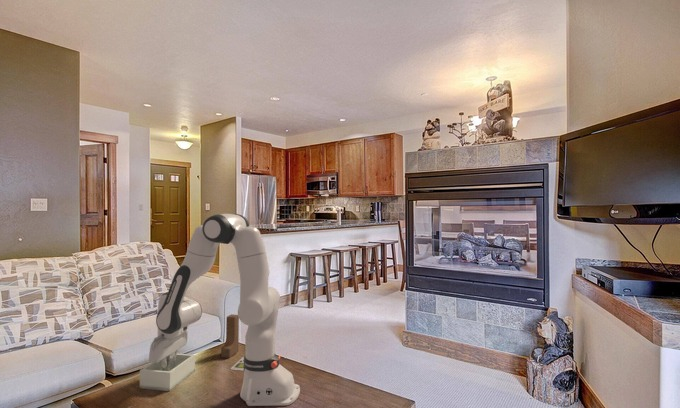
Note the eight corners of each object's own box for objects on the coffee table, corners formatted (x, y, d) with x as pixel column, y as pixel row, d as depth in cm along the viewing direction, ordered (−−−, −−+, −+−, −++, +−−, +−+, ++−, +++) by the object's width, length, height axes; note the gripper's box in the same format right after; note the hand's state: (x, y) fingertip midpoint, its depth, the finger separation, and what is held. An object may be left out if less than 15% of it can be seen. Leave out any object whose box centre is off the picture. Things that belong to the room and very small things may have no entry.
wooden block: (229, 358, 165) (229, 320, 165) (220, 357, 166) (221, 319, 166) (238, 351, 173) (239, 314, 174) (230, 350, 174) (230, 314, 175)
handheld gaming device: (261, 356, 167) (248, 370, 152) (261, 357, 167) (248, 372, 152) (244, 355, 168) (229, 368, 153) (244, 356, 168) (229, 370, 153)
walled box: (194, 371, 151) (195, 354, 151) (169, 391, 135) (170, 372, 135) (167, 369, 153) (167, 352, 154) (139, 388, 137) (139, 370, 137)
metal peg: (175, 372, 145) (175, 351, 146) (169, 376, 142) (170, 354, 142) (167, 372, 146) (167, 350, 146) (161, 376, 142) (162, 353, 143)
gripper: (159, 340, 134) (159, 376, 133) (190, 323, 154) (190, 355, 153) (144, 339, 135) (144, 375, 134) (177, 322, 155) (177, 354, 154)
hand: (168, 364), depth 144 cm, fingers closed on metal peg, 3 cm apart
